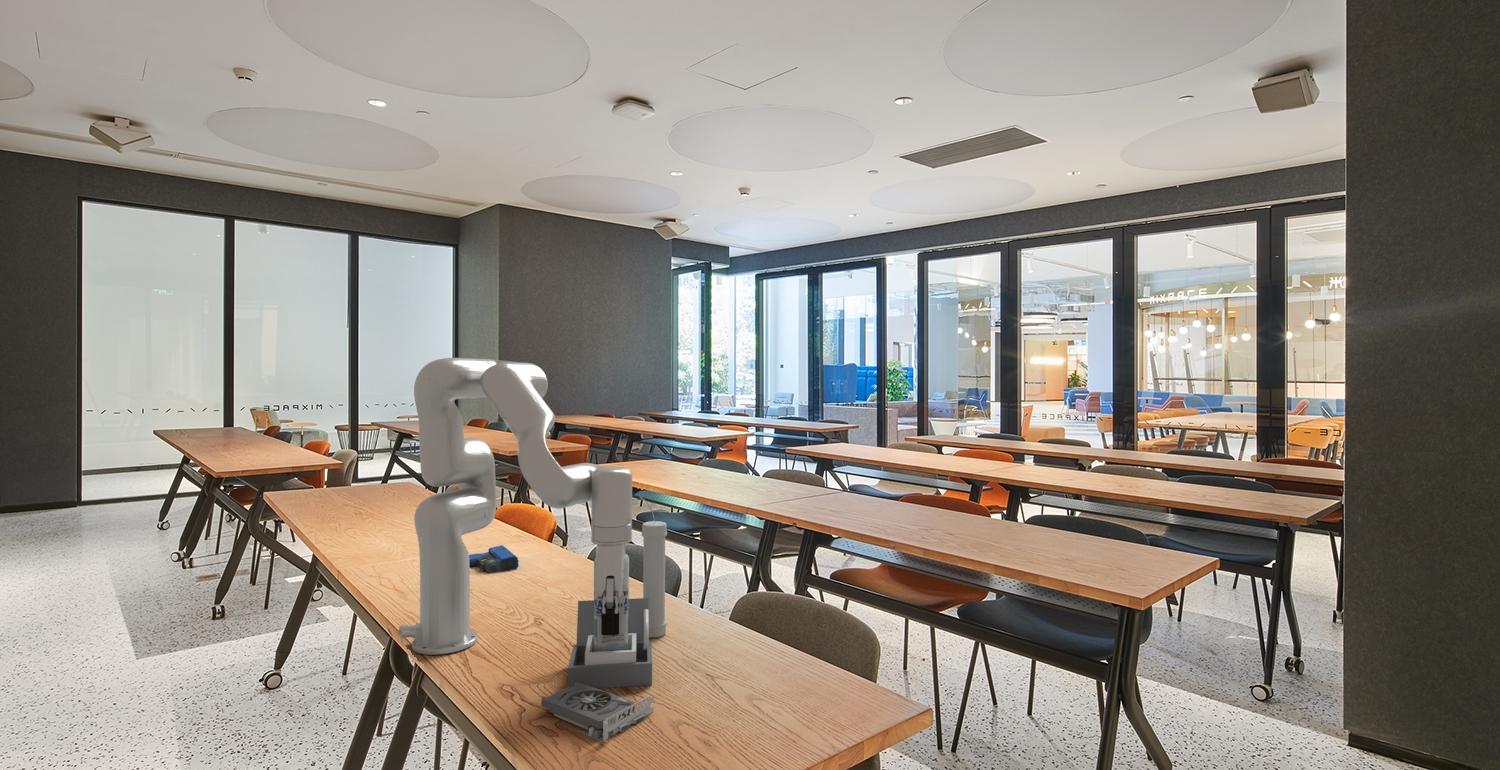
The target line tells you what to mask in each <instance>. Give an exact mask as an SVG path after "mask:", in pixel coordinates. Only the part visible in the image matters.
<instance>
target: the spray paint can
mask: <svg viewBox="0 0 1500 770" xmlns="http://www.w3.org/2000/svg"><path fill="white" fill-rule="evenodd" d="M629 579H630V557H629V555H628V554H627V553H625V559H624V579H623V589H622V596H621V597H619V598H618V612H619V634H618V635H602V634H601V614H602V613H603V595H602V597H599V599H597V598H596V597H595V582H596V555H595V557H594V559H593V600H594V652H602V651H621V650H628V603H629V599H630V597H629V594H630V592H629V591H630V589H629V587H630V586H629V585H630V580H629ZM605 596H606V592H605ZM613 596H616V592H613ZM613 602H615V600H613Z"/></svg>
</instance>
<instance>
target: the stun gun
mask: <svg viewBox="0 0 1500 770" xmlns="http://www.w3.org/2000/svg"><path fill="white" fill-rule="evenodd" d="M519 562H520V561H519V558H518V557H517V556H516V554H514V553H513V552H511V551H510V549H508V548H507V547H506V546H504V545H497V546H492V547H489V548H488V550H487V552H482V553H472V554H469V567H470V568H471V567H479V568H480V571H482V572H485V571H487V572H488V573H496V572H498V571H499V572H500V571H501V572H506V571H507V572H508V571H514V570H515V571H516V570H517V569H518V568H519Z"/></svg>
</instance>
